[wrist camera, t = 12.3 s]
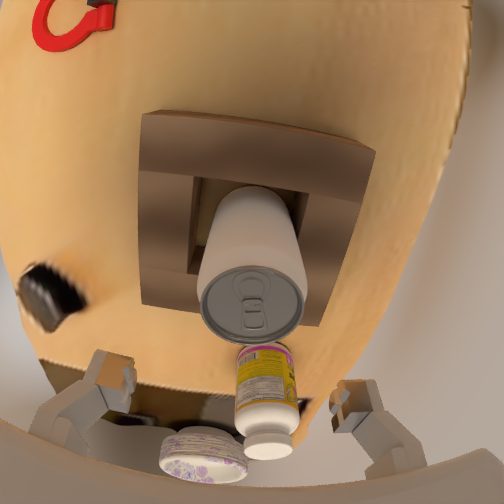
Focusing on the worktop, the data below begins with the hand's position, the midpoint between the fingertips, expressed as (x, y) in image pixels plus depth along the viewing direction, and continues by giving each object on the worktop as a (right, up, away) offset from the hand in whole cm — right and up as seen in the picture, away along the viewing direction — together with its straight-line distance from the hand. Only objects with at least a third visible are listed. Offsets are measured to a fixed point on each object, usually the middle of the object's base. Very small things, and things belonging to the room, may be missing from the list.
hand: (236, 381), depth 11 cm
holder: (0, +8, +15) cm, 17 cm away
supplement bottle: (+2, -8, +25) cm, 26 cm away
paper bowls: (-8, -28, +37) cm, 47 cm away
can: (+1, +8, +16) cm, 18 cm away
